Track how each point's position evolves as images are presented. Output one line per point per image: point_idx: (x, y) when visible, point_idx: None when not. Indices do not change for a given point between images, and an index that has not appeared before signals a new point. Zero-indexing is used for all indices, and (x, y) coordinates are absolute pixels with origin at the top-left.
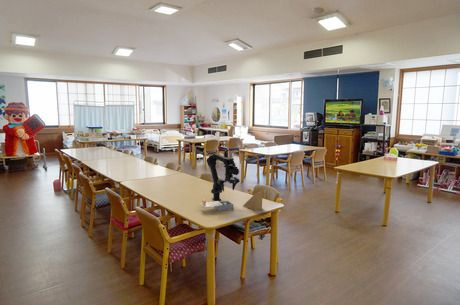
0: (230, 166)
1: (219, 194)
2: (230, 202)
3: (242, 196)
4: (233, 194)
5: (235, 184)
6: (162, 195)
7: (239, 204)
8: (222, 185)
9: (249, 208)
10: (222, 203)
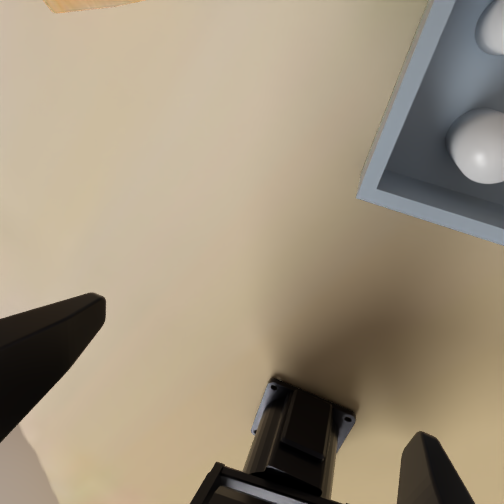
0: None
1: (273, 453)
2: (417, 62)
3: (14, 292)
4: (66, 382)
5: None
6: None
7: (180, 93)
8: None
9: None
10: (494, 216)
